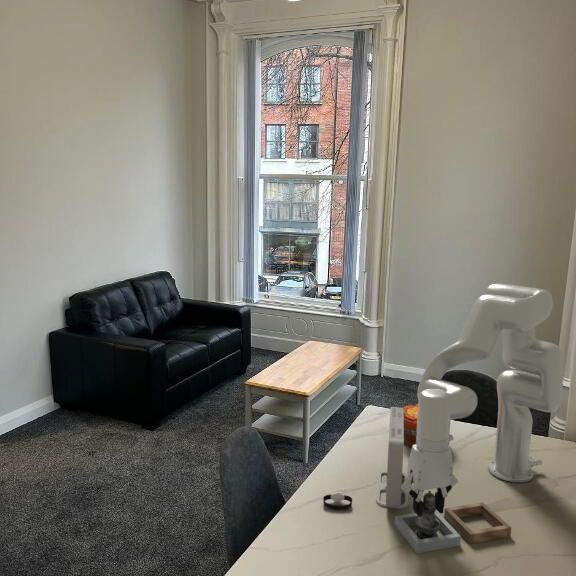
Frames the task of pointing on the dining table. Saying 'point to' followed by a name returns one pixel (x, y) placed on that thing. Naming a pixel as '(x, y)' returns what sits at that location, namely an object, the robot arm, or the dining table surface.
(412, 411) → the food container
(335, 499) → the watch
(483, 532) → the walnut collar
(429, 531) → the marbled chess piece
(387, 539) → the dining table surface
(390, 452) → the network device
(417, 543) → the slate-grey collar
